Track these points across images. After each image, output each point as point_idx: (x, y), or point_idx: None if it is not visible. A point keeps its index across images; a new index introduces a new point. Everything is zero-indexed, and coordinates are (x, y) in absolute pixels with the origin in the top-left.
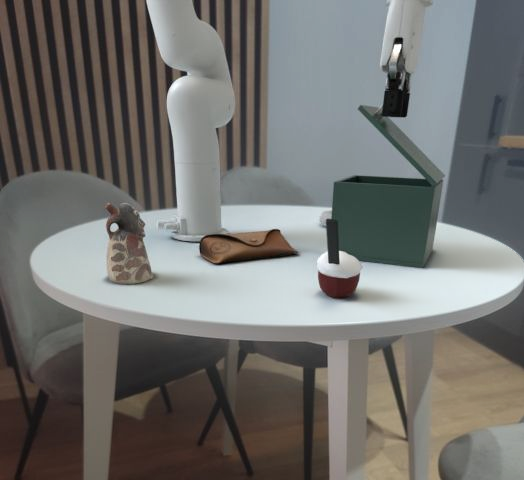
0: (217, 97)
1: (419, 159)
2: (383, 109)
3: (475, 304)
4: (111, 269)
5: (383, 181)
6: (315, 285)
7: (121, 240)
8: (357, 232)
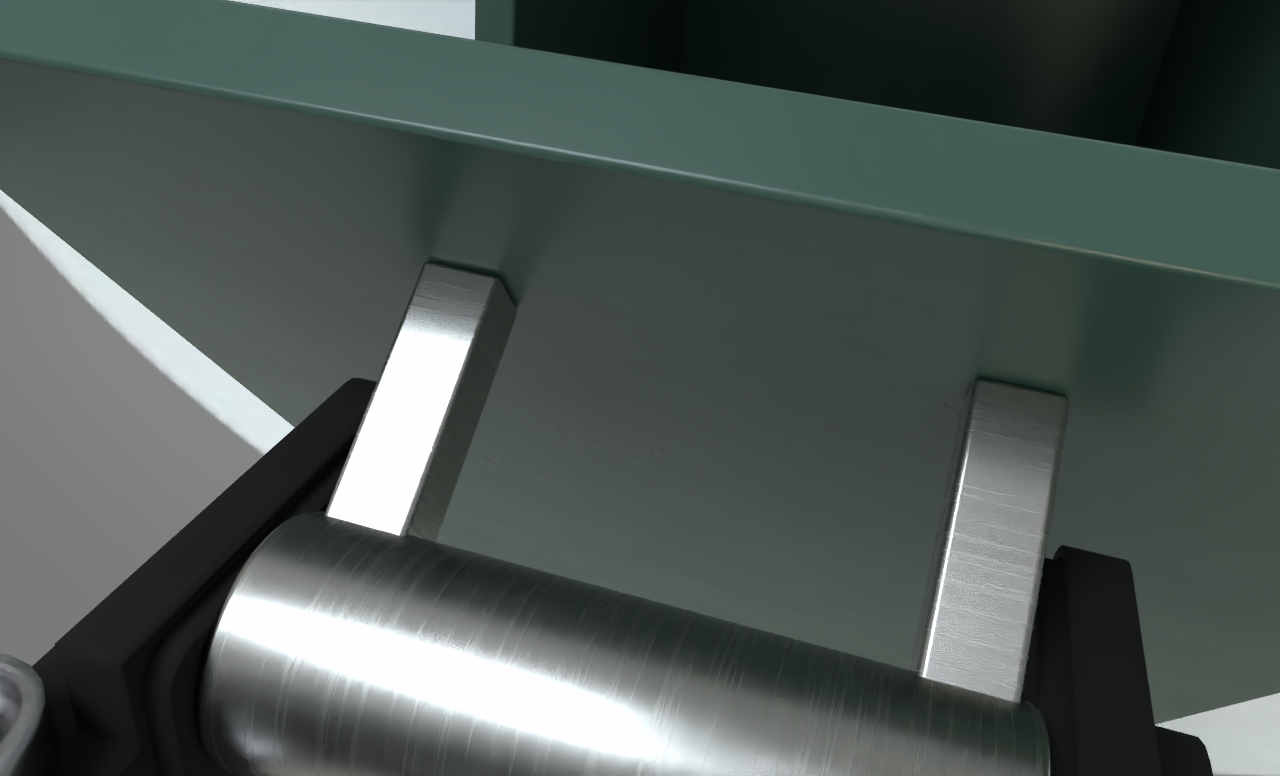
0: None
1: (613, 559)
2: (307, 437)
3: (238, 428)
4: None
5: (1263, 163)
6: None
7: None
8: None
